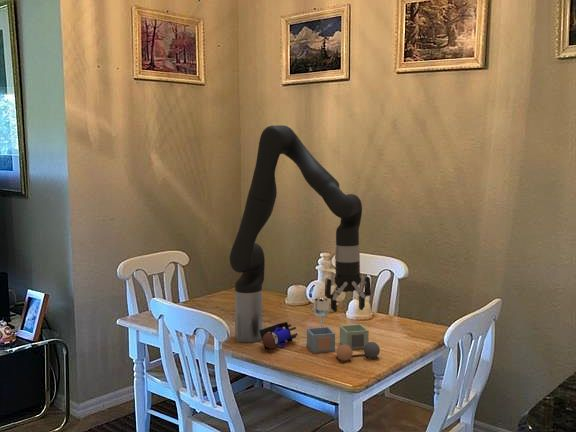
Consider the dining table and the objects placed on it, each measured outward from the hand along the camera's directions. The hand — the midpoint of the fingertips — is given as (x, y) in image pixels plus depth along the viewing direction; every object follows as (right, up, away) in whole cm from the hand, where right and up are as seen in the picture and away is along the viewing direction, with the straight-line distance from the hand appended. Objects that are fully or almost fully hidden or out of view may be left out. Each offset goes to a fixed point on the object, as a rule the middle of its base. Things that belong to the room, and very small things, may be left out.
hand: (347, 310), depth 189 cm
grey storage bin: (-8, -14, +10) cm, 19 cm away
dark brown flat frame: (+3, -15, 0) cm, 16 cm away
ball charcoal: (+8, -13, +1) cm, 15 cm away
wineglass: (-7, -12, +27) cm, 31 cm away
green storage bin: (+3, -14, +13) cm, 19 cm away
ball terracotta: (-1, -13, -1) cm, 13 cm away
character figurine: (-22, -14, +13) cm, 29 cm away
